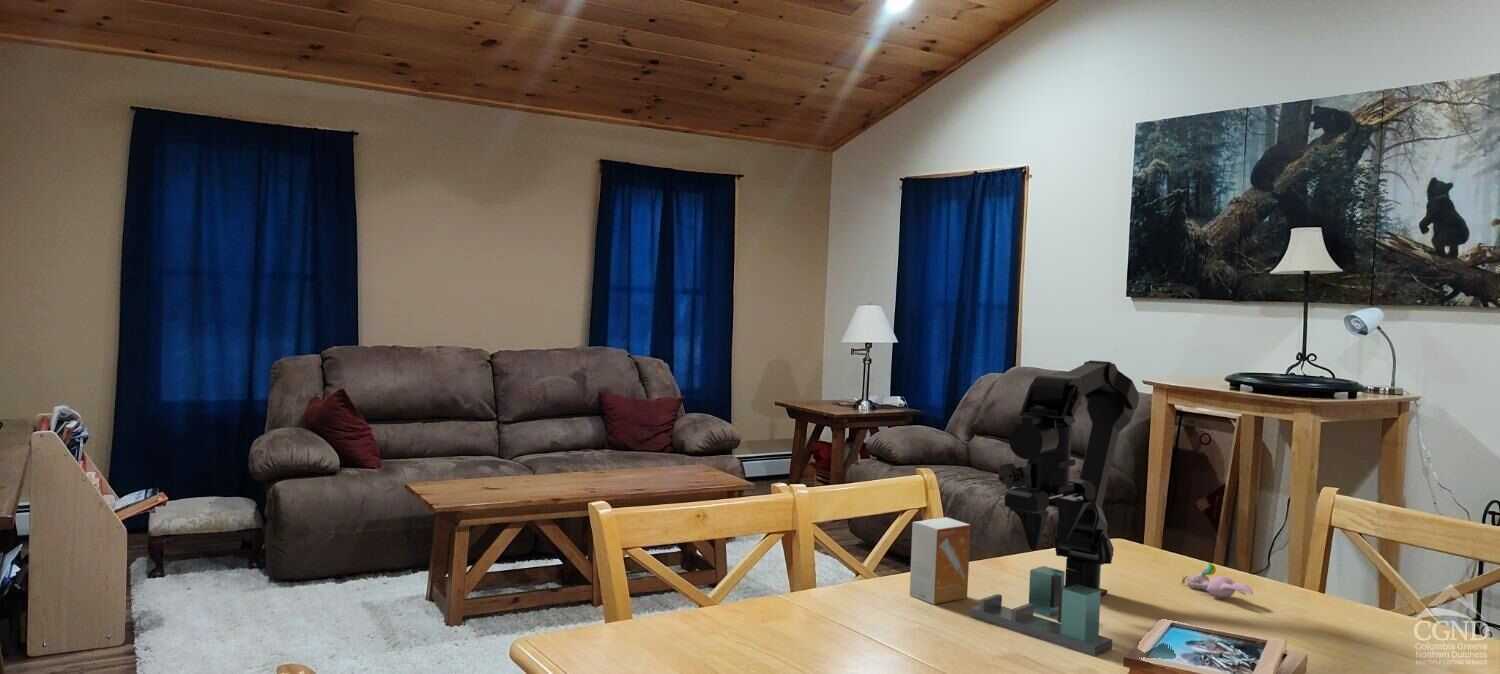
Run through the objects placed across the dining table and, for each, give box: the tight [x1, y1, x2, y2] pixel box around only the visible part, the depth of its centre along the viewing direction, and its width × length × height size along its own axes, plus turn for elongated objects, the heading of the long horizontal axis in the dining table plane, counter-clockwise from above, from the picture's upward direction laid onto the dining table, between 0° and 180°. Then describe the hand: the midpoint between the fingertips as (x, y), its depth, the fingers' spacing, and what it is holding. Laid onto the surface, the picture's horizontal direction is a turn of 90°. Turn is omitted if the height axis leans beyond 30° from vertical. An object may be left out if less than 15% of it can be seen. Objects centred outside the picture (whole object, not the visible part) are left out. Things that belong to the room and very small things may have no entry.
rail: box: [970, 584, 1113, 657], centre depth 159 cm, size 5×22×8 cm, turn 42°
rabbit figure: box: [1180, 562, 1254, 599], centre depth 182 cm, size 6×6×15 cm
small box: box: [909, 516, 971, 605], centre depth 176 cm, size 8×6×13 cm
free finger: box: [1028, 565, 1066, 618], centre depth 169 cm, size 4×5×7 cm
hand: (1048, 545), depth 169 cm, fingers open, 9 cm apart
